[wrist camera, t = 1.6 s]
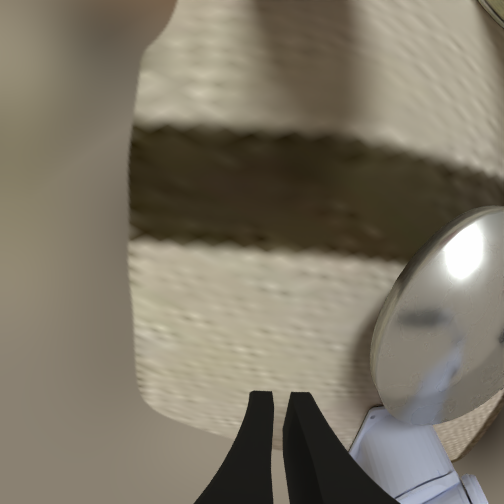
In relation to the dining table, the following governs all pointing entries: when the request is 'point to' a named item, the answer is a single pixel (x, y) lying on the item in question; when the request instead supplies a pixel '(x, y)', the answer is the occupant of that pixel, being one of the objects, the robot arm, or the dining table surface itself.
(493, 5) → the coffee can
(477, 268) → the lid
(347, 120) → the dining table surface
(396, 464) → the robot arm
